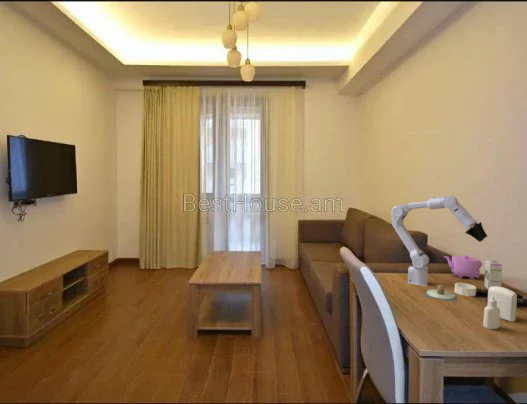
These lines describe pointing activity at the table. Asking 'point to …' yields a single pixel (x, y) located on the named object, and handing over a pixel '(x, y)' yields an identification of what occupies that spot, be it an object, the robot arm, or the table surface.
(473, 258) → the teapot
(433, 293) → the lid
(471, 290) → the bowl
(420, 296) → the table surface
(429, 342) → the table surface
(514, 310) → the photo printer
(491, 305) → the eye dropper bottle
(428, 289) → the mat
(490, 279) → the syrup box
